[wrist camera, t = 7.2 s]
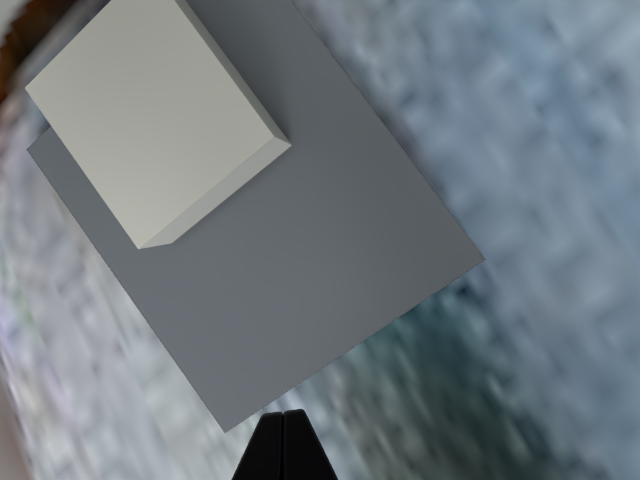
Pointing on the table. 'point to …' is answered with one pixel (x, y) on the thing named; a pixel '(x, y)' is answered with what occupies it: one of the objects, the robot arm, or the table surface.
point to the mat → (281, 228)
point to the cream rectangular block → (155, 116)
